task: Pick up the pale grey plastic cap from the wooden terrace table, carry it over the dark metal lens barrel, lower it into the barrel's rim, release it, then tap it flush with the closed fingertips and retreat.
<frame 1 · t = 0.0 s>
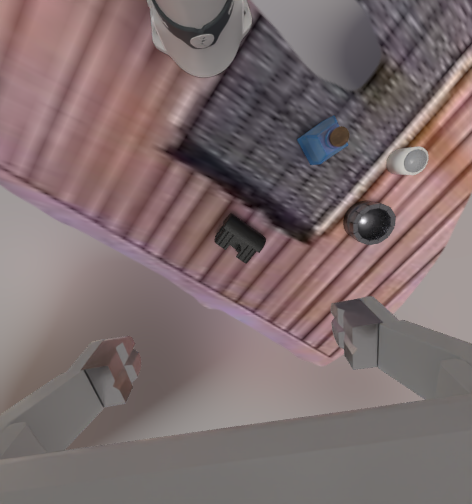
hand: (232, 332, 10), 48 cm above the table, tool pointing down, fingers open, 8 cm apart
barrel: (362, 220, 57), on the table
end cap: (239, 233, 58), on the table
perfume bottle: (315, 143, 51), on the table
cap: (398, 161, 53), on the table
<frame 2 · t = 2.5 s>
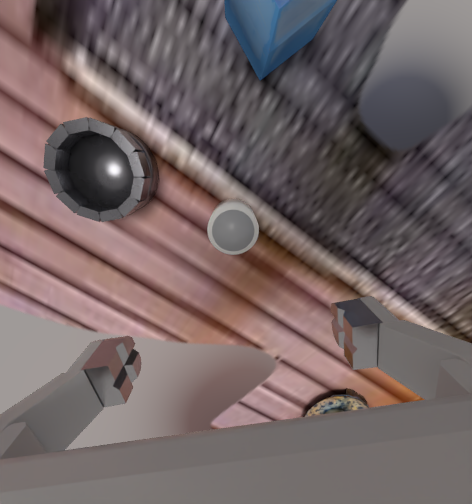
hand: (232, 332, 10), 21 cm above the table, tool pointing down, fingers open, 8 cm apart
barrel: (118, 172, 27), on the table
perfume bottle: (269, 29, 23), on the table
burger: (332, 410, 42), on the table
cap: (233, 220, 29), on the table
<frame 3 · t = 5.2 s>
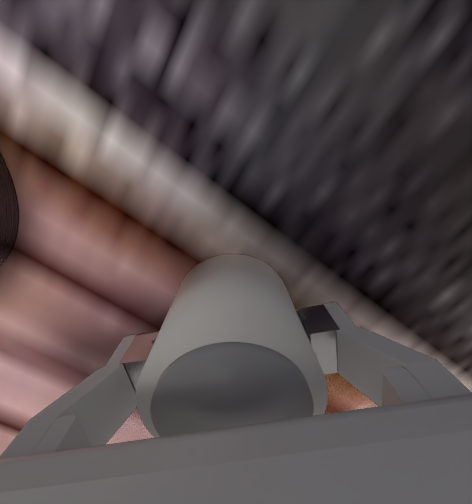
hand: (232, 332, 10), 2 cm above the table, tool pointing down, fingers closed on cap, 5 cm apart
cap: (232, 306, 11), on the table, touching gripper
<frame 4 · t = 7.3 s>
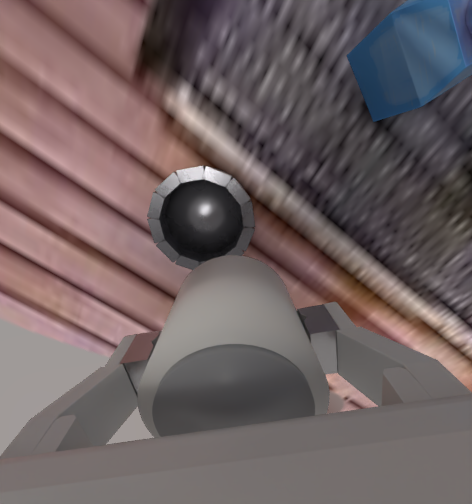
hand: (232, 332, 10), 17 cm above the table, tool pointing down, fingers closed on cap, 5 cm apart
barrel: (207, 212, 25), on the table
perfume bottle: (391, 68, 21), on the table
cap: (233, 307, 11), point 16 cm above the table, touching gripper
when the fingers open (6 cm above the table, at t = 9.8 s): cap drops 1 cm, resting on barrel.
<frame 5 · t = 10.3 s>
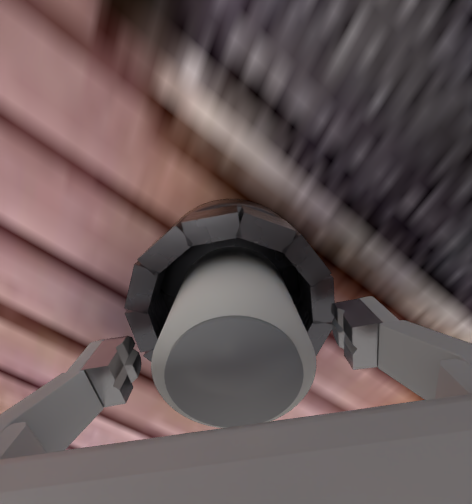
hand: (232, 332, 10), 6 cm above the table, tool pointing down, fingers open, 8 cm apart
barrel: (231, 270, 15), on the table
cap: (233, 294, 12), point 3 cm above the table, touching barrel
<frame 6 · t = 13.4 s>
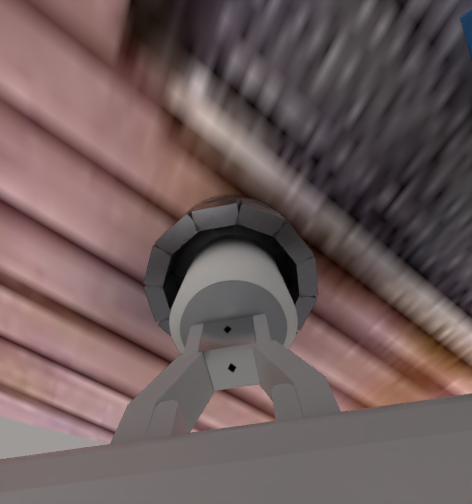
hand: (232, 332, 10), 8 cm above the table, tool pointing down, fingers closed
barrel: (231, 257, 17), on the table
cap: (233, 275, 15), point 3 cm above the table, touching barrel
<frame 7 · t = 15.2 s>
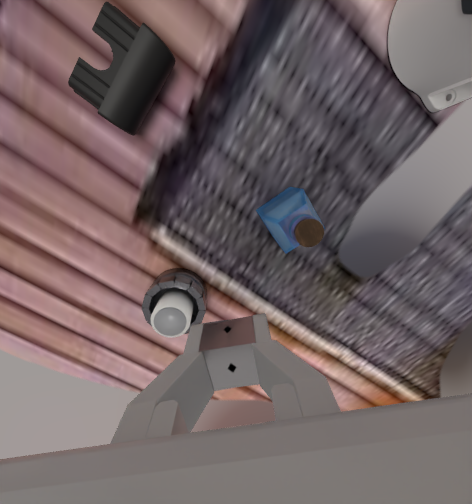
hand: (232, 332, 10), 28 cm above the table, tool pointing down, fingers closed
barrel: (179, 293, 40), on the table
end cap: (137, 89, 31), on the table
perfume bottle: (282, 214, 37), on the table
cap: (177, 302, 37), point 3 cm above the table, touching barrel
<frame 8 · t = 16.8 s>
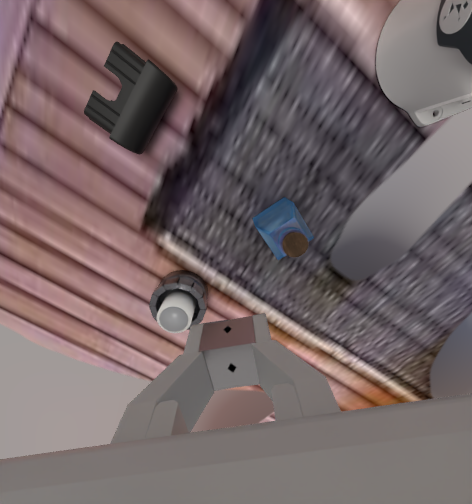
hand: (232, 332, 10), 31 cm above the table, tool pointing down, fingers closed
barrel: (183, 292, 44), on the table
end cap: (144, 110, 34), on the table
perfume bottle: (277, 222, 40), on the table
cap: (180, 301, 41), point 3 cm above the table, touching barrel
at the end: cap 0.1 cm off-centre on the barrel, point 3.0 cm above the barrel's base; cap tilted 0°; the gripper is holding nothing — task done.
